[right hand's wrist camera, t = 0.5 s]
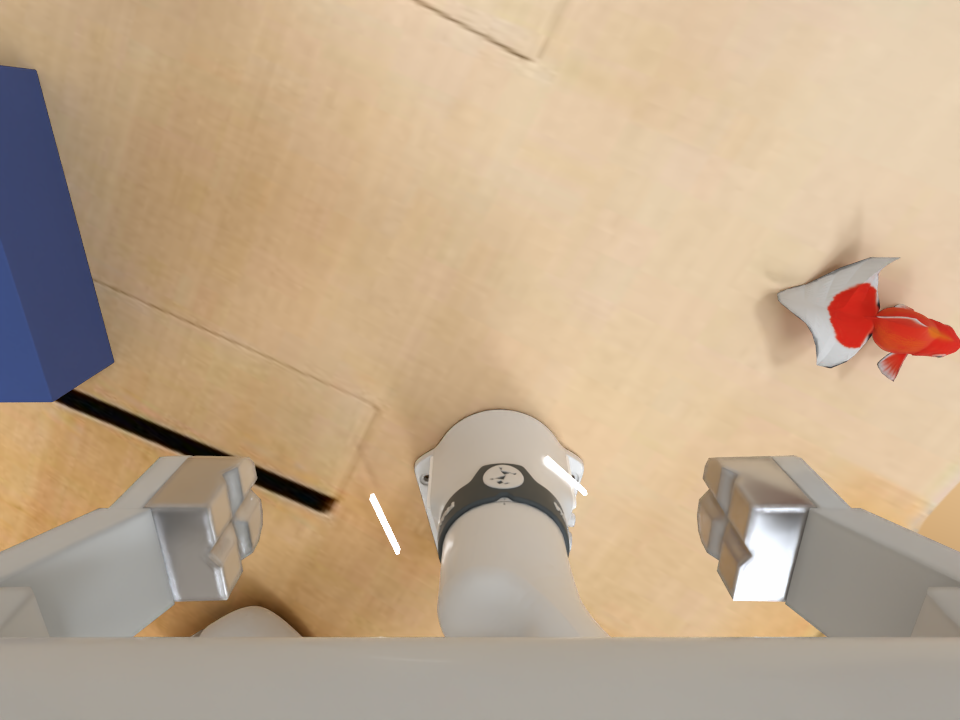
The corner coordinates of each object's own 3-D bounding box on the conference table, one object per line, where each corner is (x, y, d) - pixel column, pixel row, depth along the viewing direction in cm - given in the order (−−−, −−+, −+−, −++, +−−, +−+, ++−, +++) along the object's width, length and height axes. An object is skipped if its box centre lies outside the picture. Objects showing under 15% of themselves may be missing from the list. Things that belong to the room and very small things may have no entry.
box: (114, 362, 59) (52, 402, 51) (55, 362, 59) (-17, 402, 51) (36, 69, 49) (-59, 57, 40) (-36, 70, 49) (-146, 58, 40)
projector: (189, 710, 79) (129, 831, 65) (173, 582, 70) (100, 690, 57) (350, 721, 80) (323, 843, 66) (353, 596, 71) (324, 707, 58)
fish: (882, 422, 57) (943, 417, 47) (740, 335, 60) (770, 314, 51) (944, 333, 57) (1018, 311, 47) (799, 252, 60) (840, 216, 51)
